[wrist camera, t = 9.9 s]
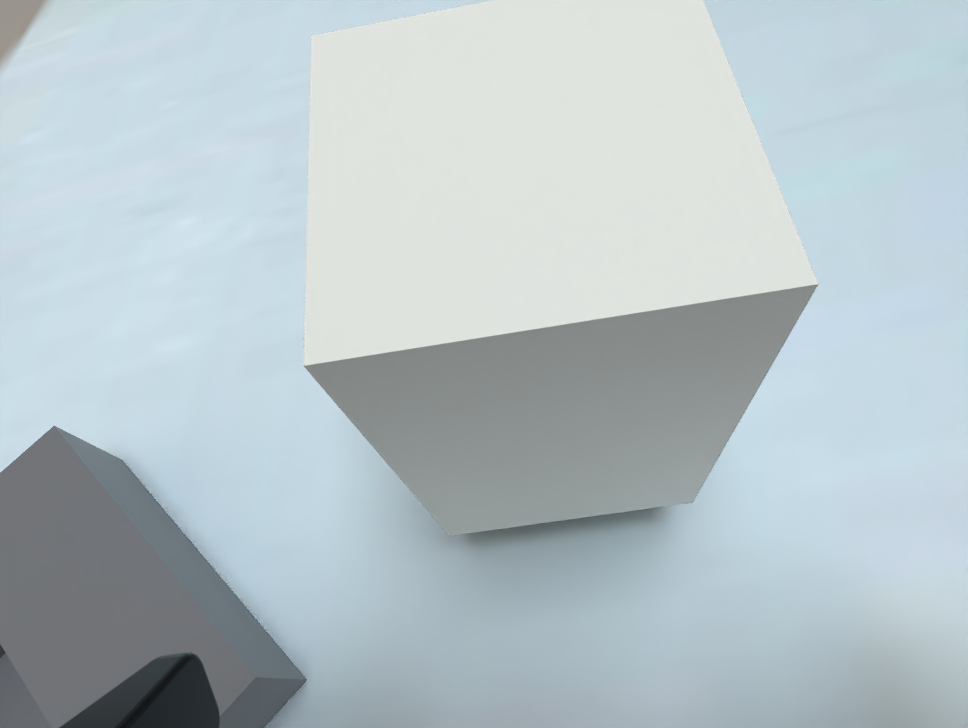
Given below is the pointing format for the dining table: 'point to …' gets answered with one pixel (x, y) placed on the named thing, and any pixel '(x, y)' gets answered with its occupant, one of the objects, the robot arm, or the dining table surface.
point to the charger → (542, 254)
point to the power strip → (113, 595)
